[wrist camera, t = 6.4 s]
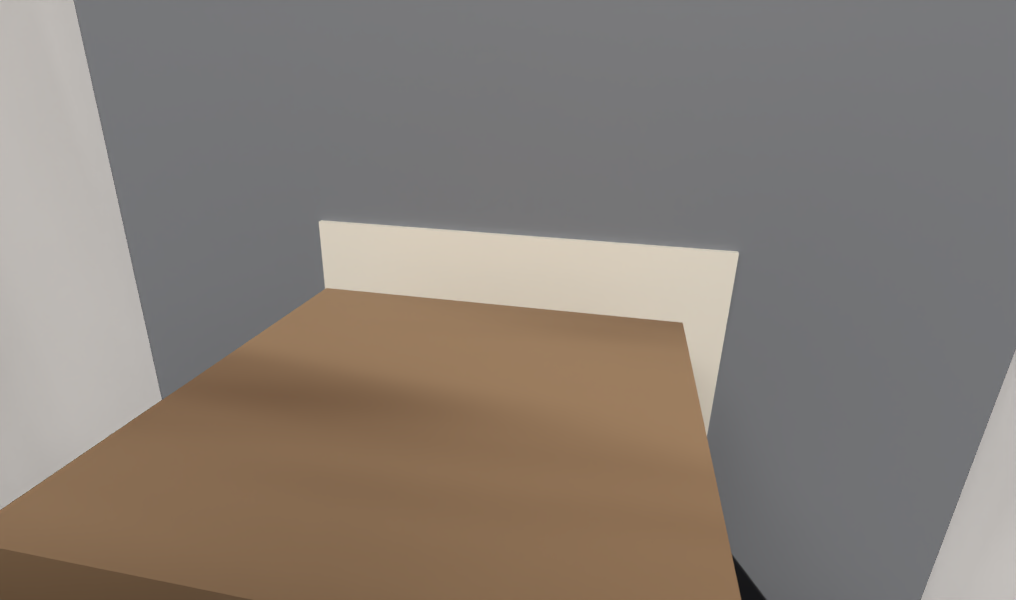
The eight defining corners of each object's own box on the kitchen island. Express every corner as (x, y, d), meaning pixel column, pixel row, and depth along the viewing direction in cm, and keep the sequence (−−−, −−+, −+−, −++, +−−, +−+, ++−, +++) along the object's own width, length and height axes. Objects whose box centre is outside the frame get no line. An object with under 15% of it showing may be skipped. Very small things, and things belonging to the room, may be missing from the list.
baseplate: (841, 729, 12) (857, 777, 11) (234, 604, 14) (210, 635, 14) (1115, -49, 7) (1180, -66, 6) (108, -38, 9) (57, -49, 9)
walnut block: (641, 607, 9) (650, 1120, 5) (351, 554, 10) (122, 943, 6) (682, 323, 7) (763, 704, 3) (326, 288, 8) (-43, 539, 4)
